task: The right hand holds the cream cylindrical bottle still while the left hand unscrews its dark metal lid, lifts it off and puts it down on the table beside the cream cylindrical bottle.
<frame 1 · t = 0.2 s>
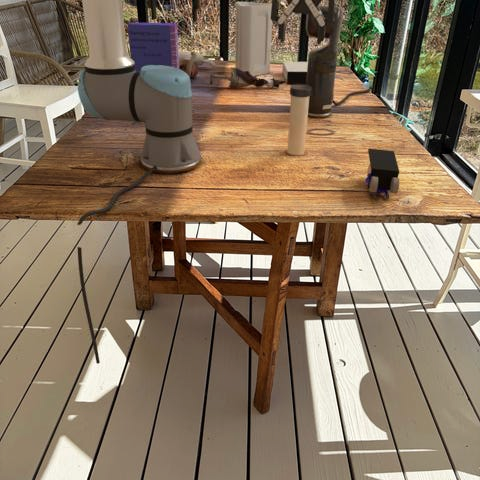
left hand: (174, 20, 152), 28 cm above the table, tool pointing down, fingers open, 13 cm apart
right hand: (300, 42, 110), 29 cm above the table, tool pointing down, fingers open, 8 cm apart
anatomical model: (185, 80, 203), on the table
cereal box: (157, 90, 188), on the table
cream cylindrical bottle: (295, 152, 131), on the table
toy: (184, 68, 224), on the table
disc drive: (304, 78, 208), on the table
figurine character: (378, 189, 111), on the table
figurine: (247, 88, 192), on the table
tall white carton: (253, 72, 218), on the table
lid: (300, 88, 122), point 17 cm above the table, screwed on, not yet turned
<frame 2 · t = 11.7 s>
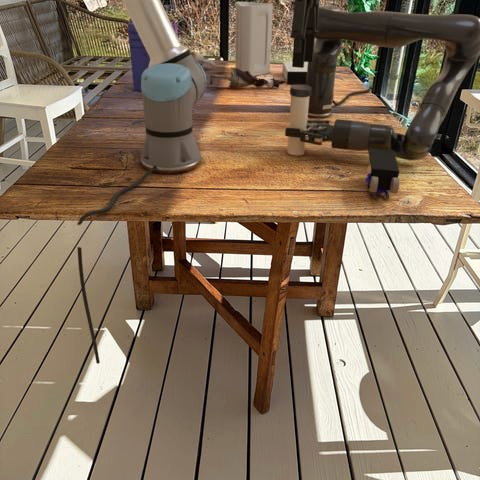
left hand: (302, 64, 119), 23 cm above the table, tool pointing down, fingers open, 7 cm apart
right hand: (287, 128, 128), 6 cm above the table, tool horizontal, fingers closed on cream cylindrical bottle, 4 cm apart
cream cylindrical bottle: (295, 152, 131), on the table, touching right hand
everything else where it was.
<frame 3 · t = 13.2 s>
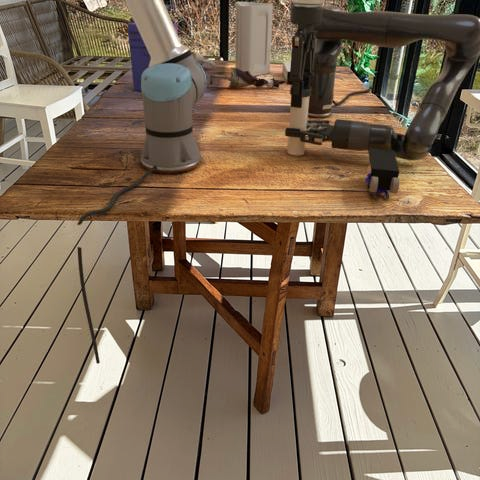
left hand: (299, 104, 124), 13 cm above the table, tool pointing down, fingers closed on lid, 5 cm apart
right hand: (287, 128, 128), 6 cm above the table, tool horizontal, fingers closed on cream cylindrical bottle, 4 cm apart
cream cylindrical bottle: (295, 152, 131), on the table, touching right hand
lid: (300, 88, 122), point 17 cm above the table, screwed on, not yet turned, touching left hand
everything else where it was.
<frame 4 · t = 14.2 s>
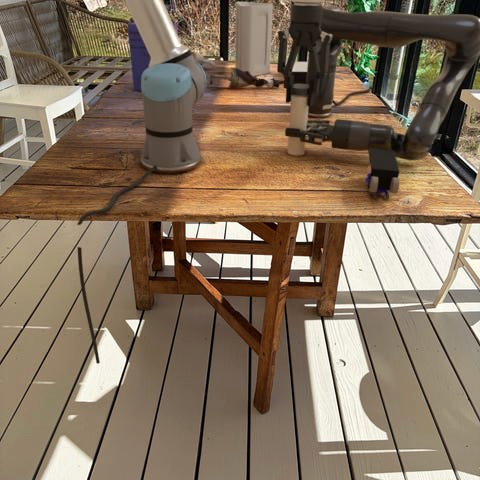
left hand: (299, 103, 124), 14 cm above the table, tool pointing down, fingers closed on lid, 5 cm apart
right hand: (287, 128, 128), 6 cm above the table, tool horizontal, fingers closed on cream cylindrical bottle, 4 cm apart
cream cylindrical bottle: (295, 152, 131), on the table, touching right hand
lid: (300, 87, 122), point 17 cm above the table, turned 85° so far, risen 0.3 cm, still on its thread, touching left hand
everything else where it was.
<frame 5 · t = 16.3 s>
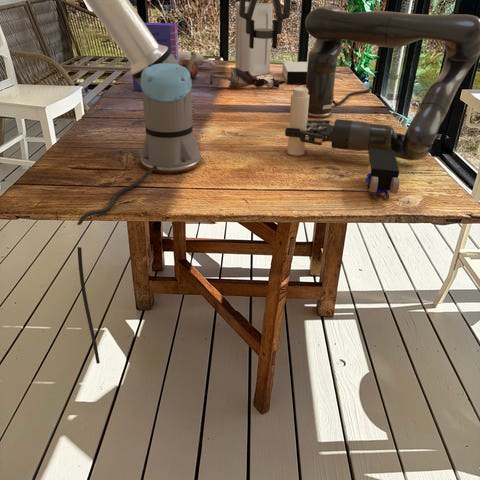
left hand: (262, 47, 125), 26 cm above the table, tool pointing down, fingers closed on lid, 5 cm apart
right hand: (287, 128, 128), 6 cm above the table, tool horizontal, fingers closed on cream cylindrical bottle, 4 cm apart
cream cylindrical bottle: (295, 152, 131), on the table, touching right hand
lid: (263, 31, 123), point 30 cm above the table, off its thread, touching left hand
everything else where it was.
when the left hand's fingers open (0 cm above the table, at t = 20.0 s): lid stays where it is, point 1 cm above the table.
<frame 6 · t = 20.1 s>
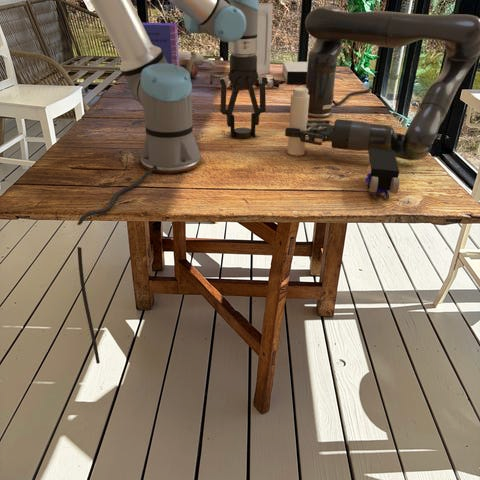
left hand: (243, 136, 142), 0 cm above the table, tool pointing down, fingers open, 6 cm apart
right hand: (287, 128, 128), 6 cm above the table, tool horizontal, fingers closed on cream cylindrical bottle, 4 cm apart
cream cylindrical bottle: (295, 152, 131), on the table, touching right hand
lid: (242, 131, 141), point 1 cm above the table, off its thread
everything else where it was.
when the right hand's fingers open (6 cm above the table, at t = 21.1 s): cream cylindrical bottle stays where it is, on the table.
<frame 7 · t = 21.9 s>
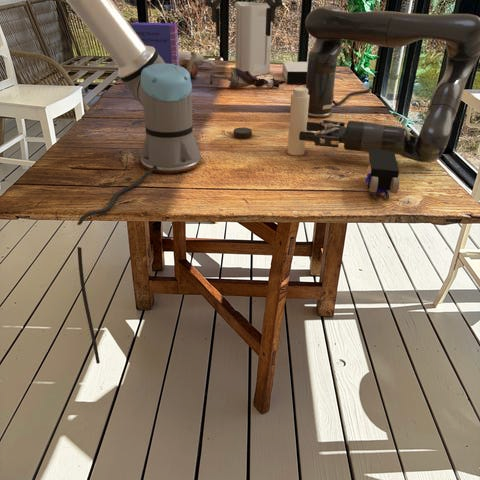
left hand: (243, 35, 128), 28 cm above the table, tool pointing down, fingers open, 13 cm apart
right hand: (302, 130, 127), 6 cm above the table, tool horizontal, fingers open, 8 cm apart
cream cylindrical bottle: (295, 152, 131), on the table
everything else where it was.
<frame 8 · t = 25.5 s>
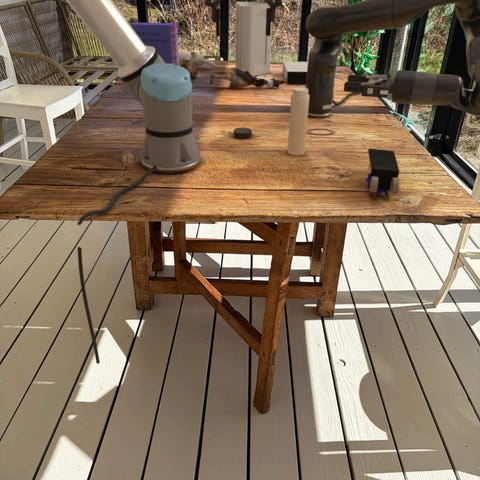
left hand: (243, 35, 128), 28 cm above the table, tool pointing down, fingers open, 13 cm apart
right hand: (346, 82, 118), 20 cm above the table, tool horizontal, fingers open, 8 cm apart
nothing on the table moved.
at the end: lid came off its thread; lid point 1.4 cm above the table; the left hand is holding nothing; the right hand is holding nothing; cream cylindrical bottle tilted 0°; cream cylindrical bottle moved 0.0 cm from its start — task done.
